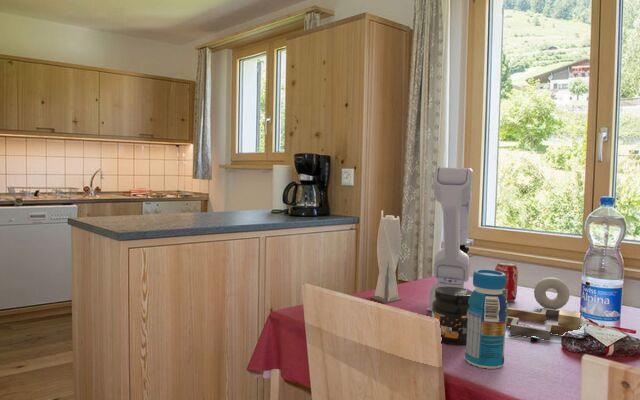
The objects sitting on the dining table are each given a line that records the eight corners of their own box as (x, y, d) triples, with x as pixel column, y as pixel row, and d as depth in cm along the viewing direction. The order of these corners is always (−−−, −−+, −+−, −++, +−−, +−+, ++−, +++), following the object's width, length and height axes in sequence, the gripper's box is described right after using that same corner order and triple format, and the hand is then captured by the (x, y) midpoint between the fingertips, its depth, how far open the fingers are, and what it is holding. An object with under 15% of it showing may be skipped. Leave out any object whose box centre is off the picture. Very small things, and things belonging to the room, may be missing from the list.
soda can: (512, 297, 167) (515, 261, 166) (518, 303, 160) (521, 266, 159) (490, 296, 168) (493, 260, 167) (496, 301, 161) (498, 264, 160)
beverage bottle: (456, 361, 110) (462, 271, 109) (475, 352, 116) (481, 266, 115) (493, 373, 104) (499, 278, 103) (511, 363, 110) (517, 273, 109)
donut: (533, 308, 154) (535, 276, 154) (532, 306, 158) (534, 274, 157) (569, 313, 151) (571, 280, 150) (567, 310, 154) (569, 278, 154)
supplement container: (422, 337, 125) (424, 290, 124) (443, 328, 132) (446, 283, 131) (460, 349, 118) (463, 299, 117) (481, 339, 125) (484, 291, 124)
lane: (488, 330, 132) (489, 317, 132) (501, 309, 152) (502, 298, 152) (583, 347, 122) (584, 333, 121) (584, 322, 142) (585, 310, 142)
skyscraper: (367, 296, 161) (371, 209, 159) (384, 293, 166) (388, 209, 164) (386, 303, 155) (391, 212, 153) (404, 299, 160) (408, 211, 158)
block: (557, 332, 132) (558, 314, 132) (558, 327, 137) (559, 309, 136) (578, 336, 130) (580, 317, 130) (579, 331, 134) (580, 313, 134)
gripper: (455, 229, 152) (453, 274, 153) (483, 227, 162) (480, 269, 163) (436, 227, 158) (434, 269, 159) (464, 224, 167) (462, 265, 168)
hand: (456, 269), depth 161 cm, fingers closed
